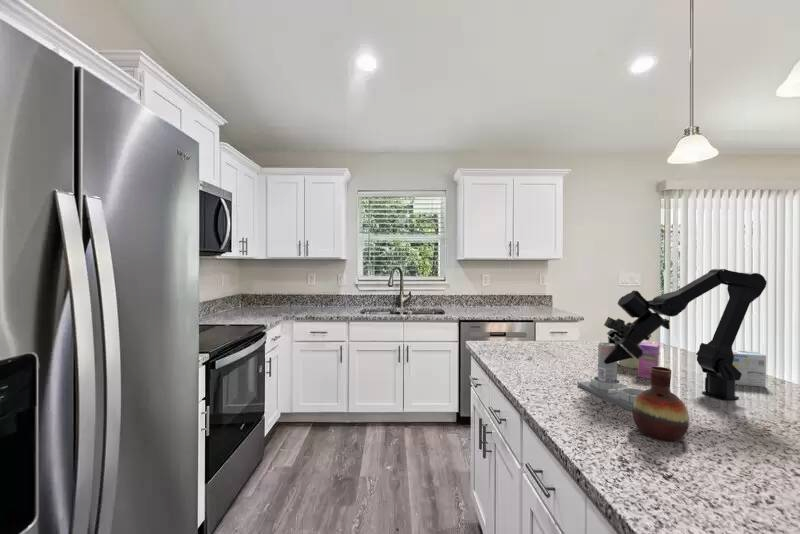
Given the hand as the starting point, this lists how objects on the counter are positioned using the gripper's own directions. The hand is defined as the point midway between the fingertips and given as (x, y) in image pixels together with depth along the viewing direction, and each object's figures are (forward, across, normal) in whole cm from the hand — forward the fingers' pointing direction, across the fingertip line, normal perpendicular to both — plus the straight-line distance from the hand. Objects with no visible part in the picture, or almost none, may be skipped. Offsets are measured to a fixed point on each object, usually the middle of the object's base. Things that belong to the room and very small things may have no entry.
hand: (602, 360), depth 122 cm
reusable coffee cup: (-6, -38, +20) cm, 43 cm away
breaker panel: (+4, +5, +9) cm, 11 cm away
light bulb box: (-27, -24, +41) cm, 55 cm away
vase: (+3, +32, +10) cm, 34 cm away
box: (-7, -24, +21) cm, 33 cm away
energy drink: (+4, 0, +6) cm, 7 cm away
